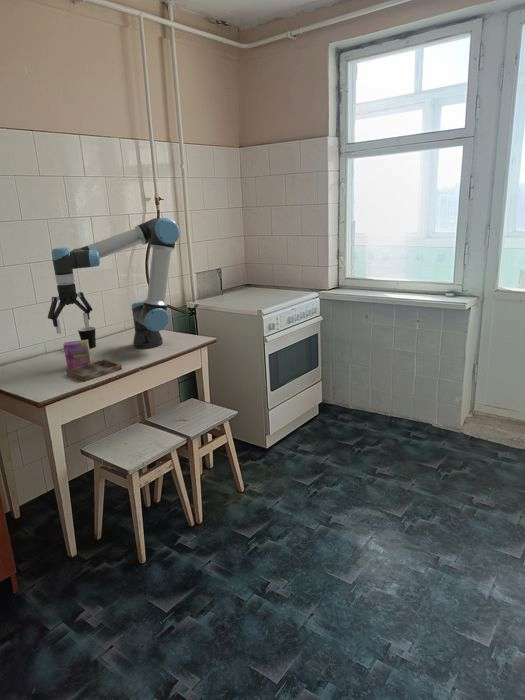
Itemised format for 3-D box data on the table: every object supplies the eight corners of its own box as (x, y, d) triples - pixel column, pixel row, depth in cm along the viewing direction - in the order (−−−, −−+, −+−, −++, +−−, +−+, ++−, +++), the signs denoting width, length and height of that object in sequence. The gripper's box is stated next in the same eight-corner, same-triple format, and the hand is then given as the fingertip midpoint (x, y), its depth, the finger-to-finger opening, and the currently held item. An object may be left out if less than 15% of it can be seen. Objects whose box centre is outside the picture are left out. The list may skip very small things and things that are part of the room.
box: (67, 369, 226) (63, 345, 223) (68, 366, 231) (64, 341, 228) (91, 366, 229) (87, 342, 225) (92, 363, 234) (88, 339, 230)
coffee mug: (94, 349, 257) (91, 330, 254) (78, 350, 257) (75, 331, 254) (102, 343, 268) (99, 325, 265) (86, 343, 268) (83, 325, 265)
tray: (104, 363, 232) (103, 359, 231) (122, 369, 222) (121, 364, 222) (67, 375, 219) (66, 370, 218) (83, 381, 209) (83, 376, 209)
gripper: (87, 279, 230) (94, 323, 236) (34, 287, 212) (42, 335, 218) (95, 280, 225) (102, 325, 231) (41, 288, 208) (50, 337, 214)
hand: (73, 330), depth 225 cm, fingers open, 13 cm apart
